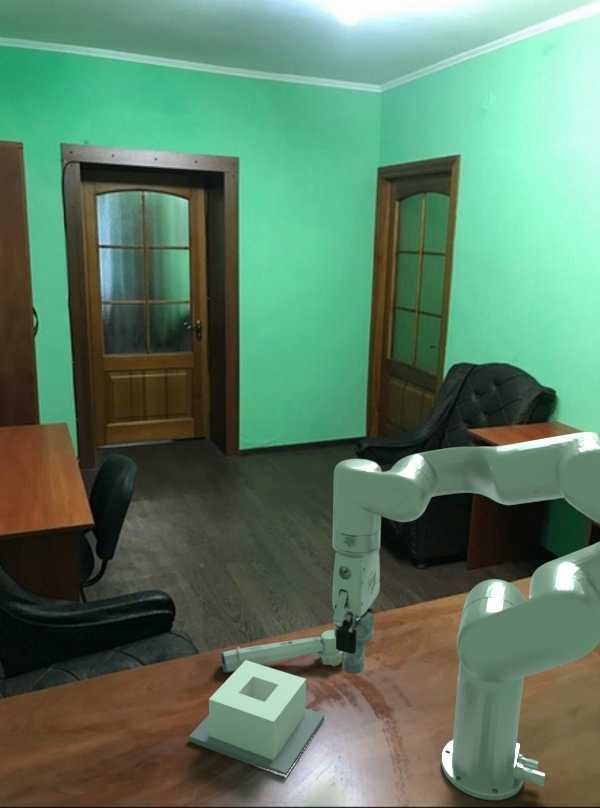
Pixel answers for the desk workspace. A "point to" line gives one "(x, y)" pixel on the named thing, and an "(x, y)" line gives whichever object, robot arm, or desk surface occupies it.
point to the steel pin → (358, 642)
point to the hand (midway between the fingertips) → (353, 638)
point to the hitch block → (259, 718)
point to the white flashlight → (285, 652)
